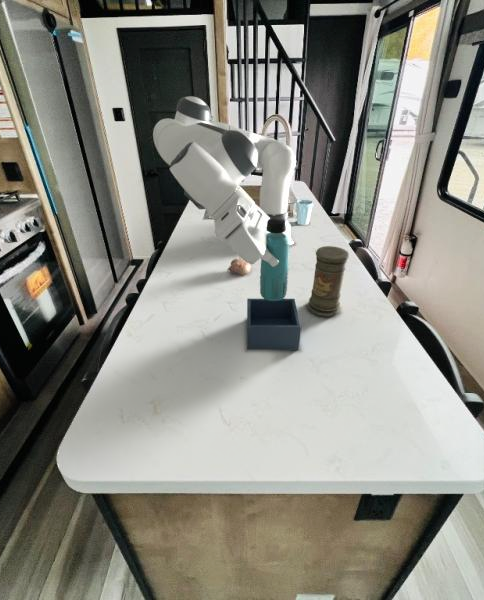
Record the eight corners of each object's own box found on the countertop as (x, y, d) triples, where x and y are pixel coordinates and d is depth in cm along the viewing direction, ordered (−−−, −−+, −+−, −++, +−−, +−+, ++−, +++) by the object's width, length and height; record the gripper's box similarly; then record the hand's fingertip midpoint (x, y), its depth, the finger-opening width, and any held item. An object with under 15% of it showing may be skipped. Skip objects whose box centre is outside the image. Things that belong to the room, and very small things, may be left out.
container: (318, 297, 99) (327, 242, 89) (344, 308, 93) (356, 251, 84) (301, 308, 94) (308, 251, 84) (328, 321, 88) (338, 262, 78)
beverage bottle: (284, 308, 75) (292, 226, 63) (256, 305, 76) (259, 224, 65) (287, 293, 80) (294, 215, 69) (261, 290, 81) (263, 213, 70)
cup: (300, 226, 152) (302, 205, 147) (291, 222, 158) (293, 201, 153) (313, 224, 155) (316, 202, 149) (304, 220, 161) (306, 199, 155)
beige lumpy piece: (226, 277, 110) (248, 273, 108) (223, 260, 109) (245, 255, 107) (232, 277, 117) (253, 273, 115) (229, 261, 117) (250, 256, 115)
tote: (247, 319, 89) (247, 298, 85) (292, 319, 89) (294, 298, 85) (247, 349, 78) (247, 327, 75) (298, 350, 78) (301, 327, 74)
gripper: (234, 207, 78) (272, 247, 82) (213, 238, 61) (261, 286, 65) (253, 189, 75) (291, 232, 79) (235, 217, 58) (285, 269, 62)
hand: (278, 257), depth 72 cm, fingers closed on beverage bottle, 5 cm apart
